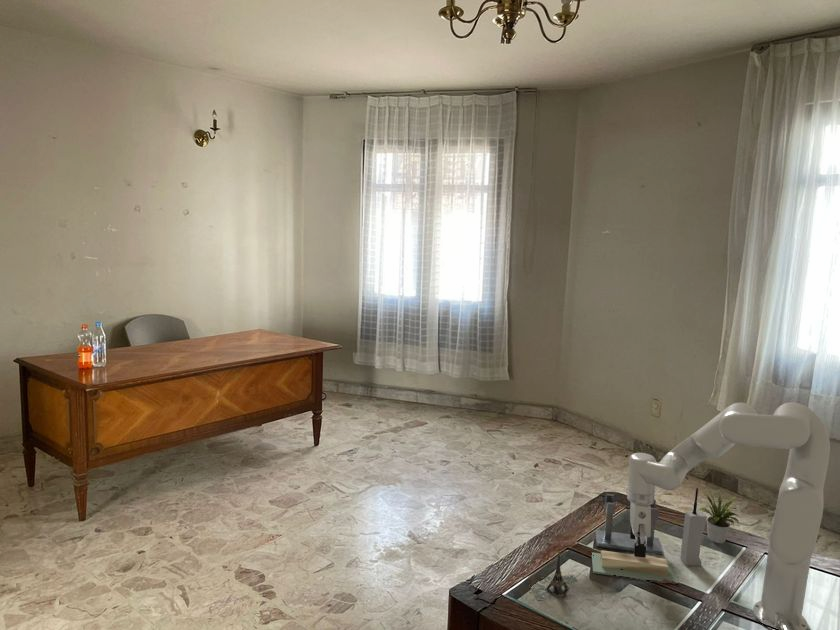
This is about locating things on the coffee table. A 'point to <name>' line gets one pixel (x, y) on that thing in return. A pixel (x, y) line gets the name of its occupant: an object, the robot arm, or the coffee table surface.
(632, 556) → the maple rail
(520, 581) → the coffee table surface
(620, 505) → the coffee table surface
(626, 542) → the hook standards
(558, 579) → the eiffel tower figurine
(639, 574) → the rubber mat
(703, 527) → the vintage mobile phone
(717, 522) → the house plant
